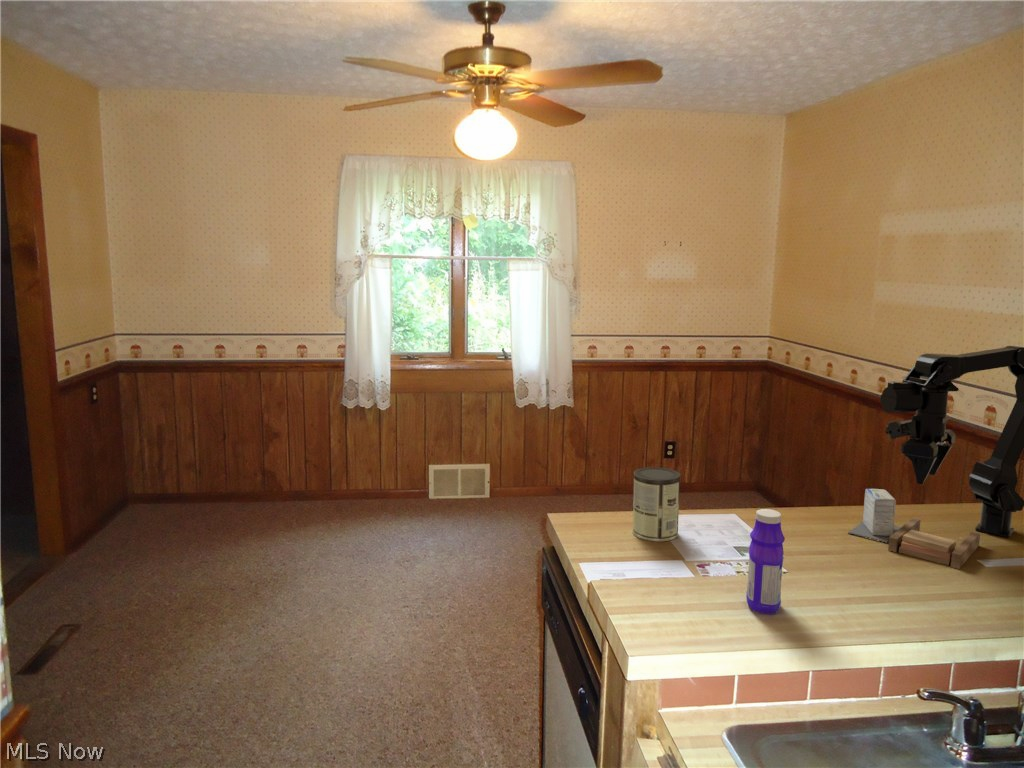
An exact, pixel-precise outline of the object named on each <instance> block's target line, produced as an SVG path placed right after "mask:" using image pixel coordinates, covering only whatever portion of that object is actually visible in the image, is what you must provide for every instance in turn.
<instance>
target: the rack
mask: <svg viewBox="0 0 1024 768" xmlns="http://www.w3.org/2000/svg"><path fill="white" fill-rule="evenodd" d="M921 520H922V519H921V518H916V517H912V518H911V519H909V520H908V521H907V522H906V523H905V524H904V525H902V526H900V527H901V528H900V529H899V530H898V531H896V532H895V533H894V534H893V535H891V536H890V537H889V542H888V549H887V551H888V550H889V552H891V551H893V552H892V553H895V552H896V553H897V552H899V547H900V546H901V542H902V539H903V535H905V534H906V533H907V532H909V531H910V530H915V531H919V532H920V528H921ZM980 539H981V531H977V530H971V532H970V533H969V534H968V535H967V536H966V537H965V538H964V539H963V540H962V541H961V542H960V543H959V544H958V546H956V547H955V550H954V551H953V552H952V558H951V564H950V567H951V568H954V569H958V570H960V569H961V567H962V566H963V565H964V564H965V563H966V561H968V559H969V558H970V557H971V556H972V555H973V554H974V552H976V550H977V549H978V548H979V546H980Z"/></svg>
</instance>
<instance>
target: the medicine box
mask: <svg viewBox="0 0 1024 768" xmlns="http://www.w3.org/2000/svg"><path fill="white" fill-rule="evenodd" d="M896 502H897V501H896V499H895V498H894V497H893V496H892V495H891V494H890V493H889V492H888V491H887V490H886V489H883V488H882V489H881V488H880V489H879V488H865V491H864V501H863V513H862V514H863V516H862V522H863V524H864V525H865V526H866V527H867V529H868V530H869V531H870V532H871V533H872V535H877V536H891V535H893V533H894V526H895V516H896Z"/></svg>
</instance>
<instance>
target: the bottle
mask: <svg viewBox="0 0 1024 768" xmlns="http://www.w3.org/2000/svg"><path fill="white" fill-rule="evenodd" d="M781 522H782V514H781V512H779V511H778V510H775V509H769V508H764V509H763V508H762V509H758V510H756V512H755V523H754V526H753V529H752V530H751V532H749V533H750V534H749V538H750V539H751V541H750V543H749V547H748V571H747V585H746V593H745V594H746V598H745V599H746V602H747V605H748V607H749V608H750V610H752V611H754V612H755V613H760V614H766V615H767V614H768V615H771V614H777V613H778V611H779V609H780V607H781V603H782V600H781V598H782V597H781V594H782V592H781V591H782V580H783V579H782V578H783V577H782V575H783V574H782V573H783V563H784V560H785V559H784V558H785V557H784V555H785V554H784V546H783V544H784V542H785V539H786V538H785V536H784V534H783V530H782V523H781Z"/></svg>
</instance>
